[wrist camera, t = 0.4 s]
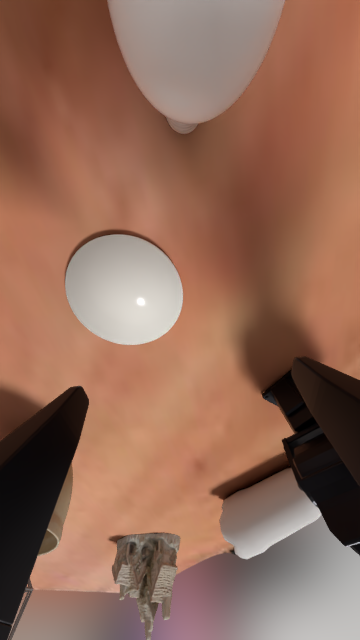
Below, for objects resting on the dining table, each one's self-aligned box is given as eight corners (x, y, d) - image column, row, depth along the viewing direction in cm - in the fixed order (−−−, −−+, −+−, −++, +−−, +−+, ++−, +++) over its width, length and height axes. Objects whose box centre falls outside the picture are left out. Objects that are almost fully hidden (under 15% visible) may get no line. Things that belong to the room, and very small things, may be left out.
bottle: (248, 525, 43) (366, 464, 34) (246, 577, 35) (402, 514, 26) (219, 490, 46) (324, 423, 37) (212, 531, 37) (344, 458, 28)
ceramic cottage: (187, 539, 55) (188, 640, 42) (147, 550, 60) (136, 643, 46) (152, 521, 50) (140, 628, 37) (112, 534, 55) (87, 633, 41)
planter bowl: (-34, 413, 27) (-149, 518, 17) (77, 407, 27) (25, 506, 18) (14, 470, 34) (-47, 566, 25) (101, 464, 35) (75, 556, 25)
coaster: (204, 280, 19) (205, 281, 19) (148, 356, 24) (147, 359, 23) (95, 204, 16) (93, 203, 15) (52, 310, 20) (49, 312, 20)
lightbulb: (202, 19, 12) (363, -1031, 2) (237, 137, 14) (381, -53, 5) (121, 87, 13) (-33, -346, 3) (168, 184, 16) (162, 114, 6)
